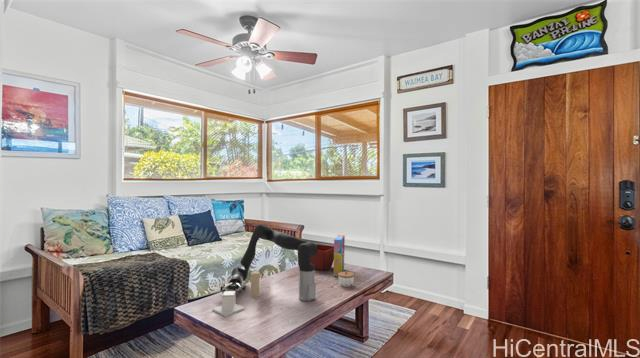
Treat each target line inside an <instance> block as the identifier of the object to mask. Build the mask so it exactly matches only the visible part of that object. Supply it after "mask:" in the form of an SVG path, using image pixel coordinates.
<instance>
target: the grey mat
mask: <svg viewBox="0 0 640 358" xmlns="http://www.w3.org/2000/svg"><path fill="white" fill-rule="evenodd" d="M244 310H245V307H244V306H242V305H239V304H237V303H235V308H234V310H228V311H222V304H221V305H219V306H215V307H214V308H212V309H211V311H212V312H215V313H217V314H218V315H221V316H223V317H225V318H226V317H227V318H228V317H229V316H232V315H234V314H236V313H239V312H242V311H244Z"/></svg>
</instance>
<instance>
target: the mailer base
mask: <svg viewBox="0 0 640 358" xmlns="http://www.w3.org/2000/svg"><path fill="white" fill-rule="evenodd" d="M259 295H260V271H259V270H257V271H256V270H253V271H251V273H250V297H251V298H252V297H259Z"/></svg>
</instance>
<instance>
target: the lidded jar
mask: <svg viewBox="0 0 640 358" xmlns="http://www.w3.org/2000/svg"><path fill="white" fill-rule="evenodd" d="M337 277H338V282H339V284H340V285H341V286H342V287H345V288H348V287H351V286H352V285H353V283H354V279H355V274H354V272H352V271H347V270H346V271H343V272H340V273H338V276H337Z"/></svg>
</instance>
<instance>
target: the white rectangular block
mask: <svg viewBox="0 0 640 358" xmlns="http://www.w3.org/2000/svg"><path fill="white" fill-rule="evenodd" d="M236 291H237V290H229V291H224V293H222V295H221V305H222V311H228V310H234V308H235V304H236V301H237V300H236V299H237V298H236Z"/></svg>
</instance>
